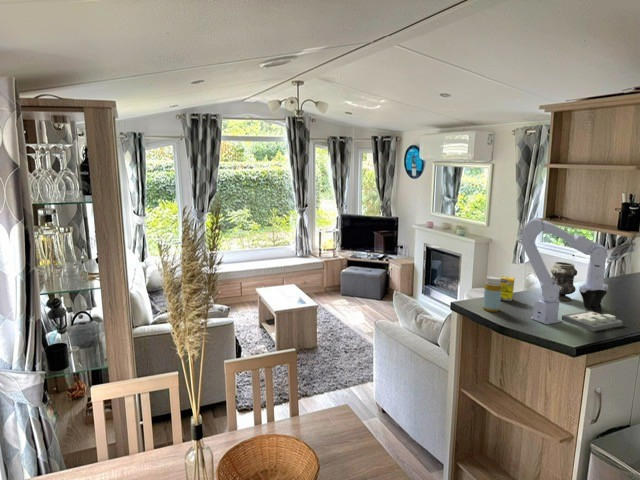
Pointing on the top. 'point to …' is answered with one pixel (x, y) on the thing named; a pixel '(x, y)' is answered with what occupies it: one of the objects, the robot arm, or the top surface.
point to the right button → (609, 317)
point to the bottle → (492, 294)
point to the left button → (589, 321)
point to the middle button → (599, 319)
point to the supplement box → (507, 288)
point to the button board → (577, 321)
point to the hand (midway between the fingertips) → (591, 307)
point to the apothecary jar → (564, 279)
